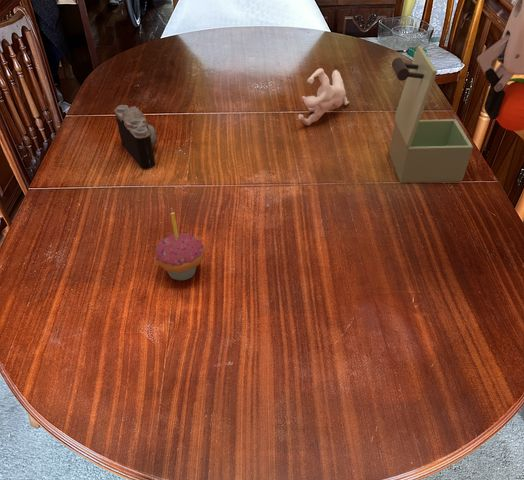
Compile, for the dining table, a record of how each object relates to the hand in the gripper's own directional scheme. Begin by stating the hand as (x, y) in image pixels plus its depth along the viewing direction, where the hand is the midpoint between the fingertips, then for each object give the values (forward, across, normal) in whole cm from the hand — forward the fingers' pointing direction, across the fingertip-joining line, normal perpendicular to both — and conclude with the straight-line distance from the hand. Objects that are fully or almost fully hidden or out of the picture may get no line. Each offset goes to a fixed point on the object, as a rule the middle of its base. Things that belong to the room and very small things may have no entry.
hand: (516, 113), depth 76 cm
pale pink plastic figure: (+25, -20, +56) cm, 64 cm away
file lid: (+10, -6, +30) cm, 32 cm away
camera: (+25, -64, +40) cm, 79 cm away
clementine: (+2, 0, 0) cm, 2 cm away
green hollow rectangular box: (+25, 0, +30) cm, 39 cm away
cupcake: (+25, -53, -4) cm, 58 cm away
